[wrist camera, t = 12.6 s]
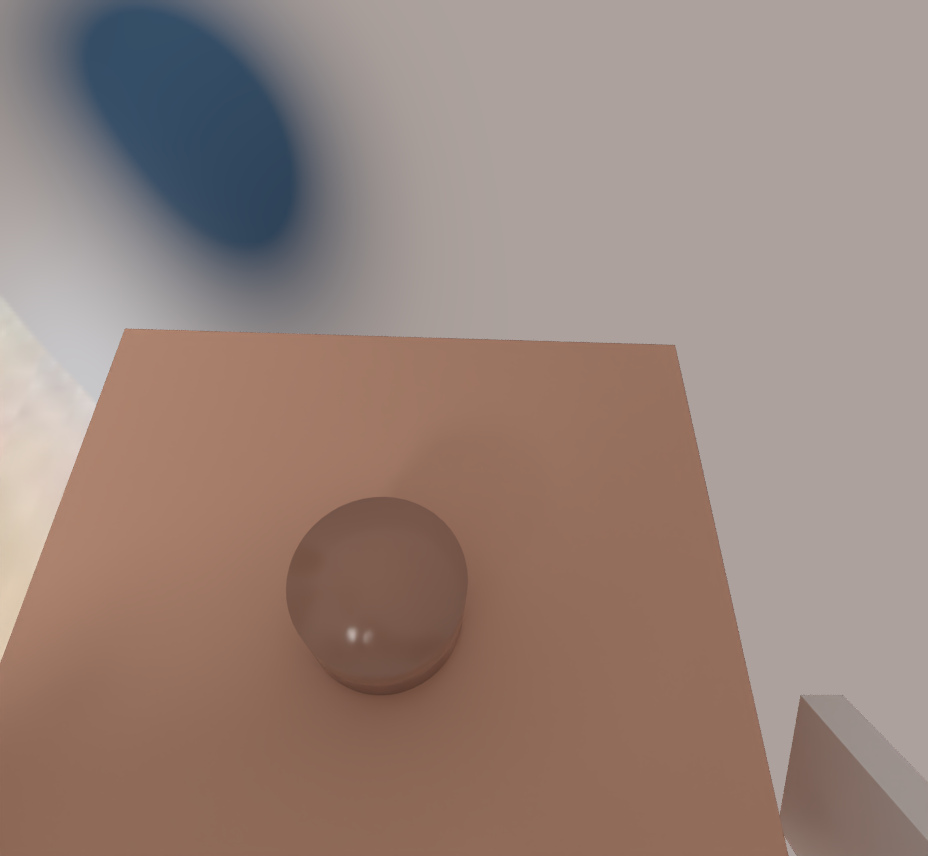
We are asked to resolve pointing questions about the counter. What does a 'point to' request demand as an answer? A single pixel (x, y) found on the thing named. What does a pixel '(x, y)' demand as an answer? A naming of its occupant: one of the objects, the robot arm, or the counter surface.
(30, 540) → the counter surface
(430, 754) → the cube with knob
